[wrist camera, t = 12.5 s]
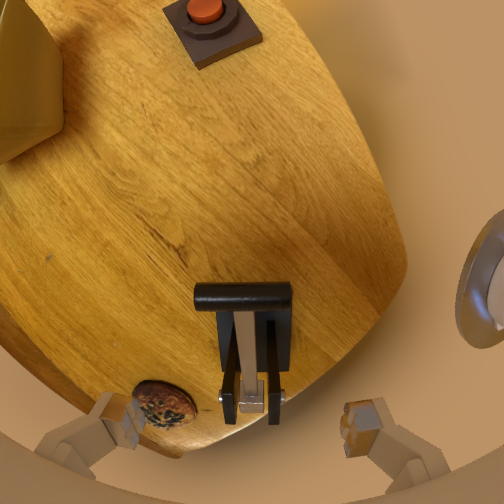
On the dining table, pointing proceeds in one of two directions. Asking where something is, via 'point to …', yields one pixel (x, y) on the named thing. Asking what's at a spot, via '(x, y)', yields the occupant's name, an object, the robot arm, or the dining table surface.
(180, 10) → the button block
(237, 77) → the dining table surface
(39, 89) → the flower pot
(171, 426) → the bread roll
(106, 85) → the dining table surface
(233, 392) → the bracket
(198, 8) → the button
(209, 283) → the lever
